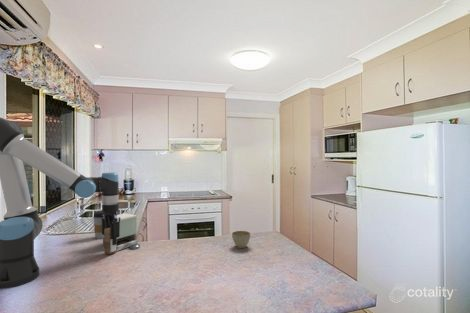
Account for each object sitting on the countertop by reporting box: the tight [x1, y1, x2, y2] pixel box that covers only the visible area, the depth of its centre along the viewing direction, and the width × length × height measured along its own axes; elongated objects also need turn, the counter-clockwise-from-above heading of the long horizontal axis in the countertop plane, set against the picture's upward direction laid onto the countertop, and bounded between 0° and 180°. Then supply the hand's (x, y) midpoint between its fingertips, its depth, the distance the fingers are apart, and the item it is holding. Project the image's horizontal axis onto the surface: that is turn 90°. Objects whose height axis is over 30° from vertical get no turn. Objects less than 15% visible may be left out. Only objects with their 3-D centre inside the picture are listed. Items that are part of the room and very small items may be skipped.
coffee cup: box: [93, 210, 104, 240], centre depth 157 cm, size 8×8×15 cm
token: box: [129, 243, 141, 251], centre depth 139 cm, size 5×5×2 cm
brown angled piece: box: [104, 228, 138, 255], centre depth 137 cm, size 17×4×12 cm, turn 147°
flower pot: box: [231, 230, 251, 249], centre depth 141 cm, size 10×10×7 cm
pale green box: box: [102, 212, 138, 246], centre depth 146 cm, size 14×11×15 cm
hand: (110, 250), depth 131 cm, fingers closed on brown angled piece, 4 cm apart
